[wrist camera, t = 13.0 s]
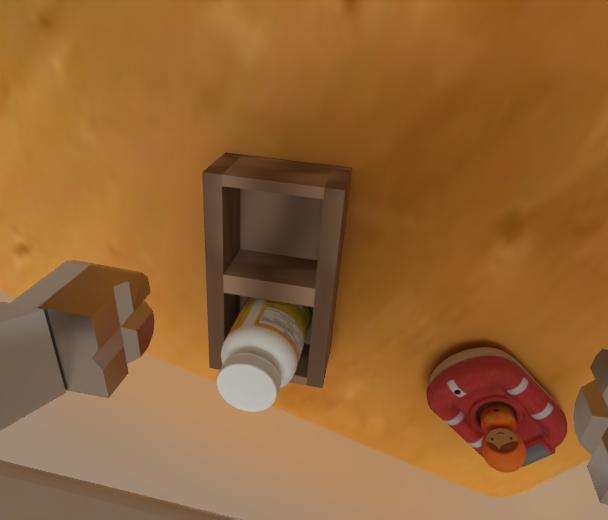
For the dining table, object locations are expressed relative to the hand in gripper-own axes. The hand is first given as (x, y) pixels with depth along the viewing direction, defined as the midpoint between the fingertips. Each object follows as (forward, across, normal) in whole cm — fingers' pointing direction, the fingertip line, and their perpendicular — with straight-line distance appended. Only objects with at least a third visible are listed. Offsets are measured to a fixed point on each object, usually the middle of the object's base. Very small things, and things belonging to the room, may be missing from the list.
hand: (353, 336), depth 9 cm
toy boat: (+25, -10, +23) cm, 35 cm away
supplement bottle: (+24, +7, +17) cm, 30 cm away
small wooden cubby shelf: (+24, +7, +13) cm, 29 cm away
